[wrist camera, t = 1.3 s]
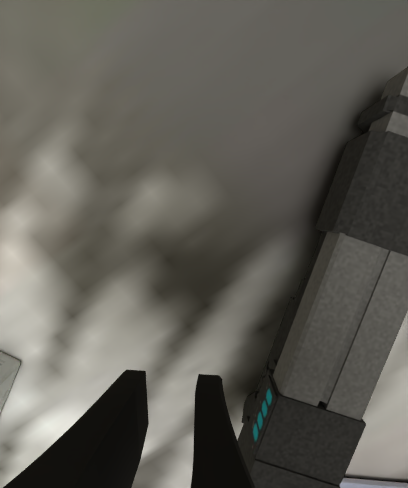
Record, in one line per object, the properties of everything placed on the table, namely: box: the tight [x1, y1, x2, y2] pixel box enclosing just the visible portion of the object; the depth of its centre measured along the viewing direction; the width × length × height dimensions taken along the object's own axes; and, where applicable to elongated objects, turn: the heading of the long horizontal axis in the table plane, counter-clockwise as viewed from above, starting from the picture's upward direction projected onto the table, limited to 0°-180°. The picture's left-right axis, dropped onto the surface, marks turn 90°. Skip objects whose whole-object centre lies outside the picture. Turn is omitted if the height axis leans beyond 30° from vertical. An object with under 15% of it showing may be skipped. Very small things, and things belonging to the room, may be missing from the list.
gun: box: [237, 67, 408, 488], centre depth 16 cm, size 4×20×10 cm, turn 162°
